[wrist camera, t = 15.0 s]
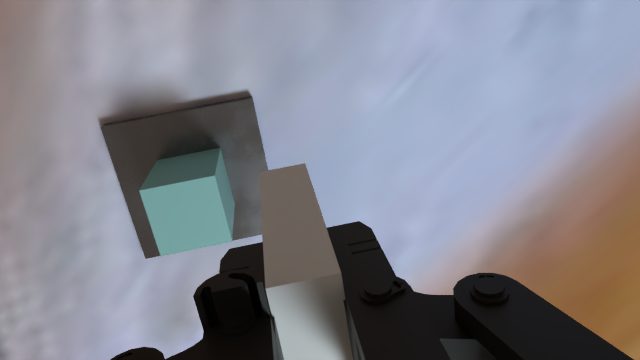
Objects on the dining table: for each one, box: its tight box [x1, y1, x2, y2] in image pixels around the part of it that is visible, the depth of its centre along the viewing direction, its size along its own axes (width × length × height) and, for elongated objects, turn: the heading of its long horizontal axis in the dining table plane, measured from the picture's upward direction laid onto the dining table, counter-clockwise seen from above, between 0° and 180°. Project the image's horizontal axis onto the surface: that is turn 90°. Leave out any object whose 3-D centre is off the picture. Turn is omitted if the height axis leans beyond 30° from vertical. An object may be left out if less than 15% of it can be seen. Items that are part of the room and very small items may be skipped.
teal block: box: [139, 148, 235, 256], centre depth 37 cm, size 5×5×7 cm
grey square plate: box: [101, 97, 268, 259], centre depth 38 cm, size 12×12×6 cm
